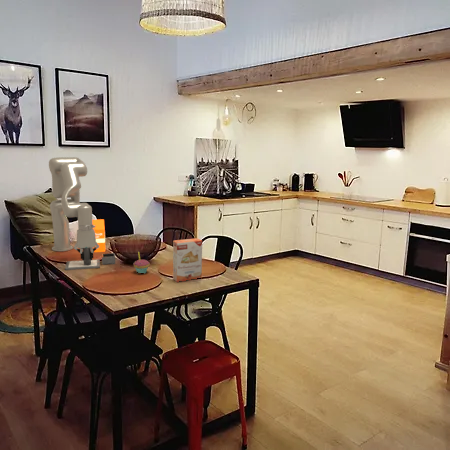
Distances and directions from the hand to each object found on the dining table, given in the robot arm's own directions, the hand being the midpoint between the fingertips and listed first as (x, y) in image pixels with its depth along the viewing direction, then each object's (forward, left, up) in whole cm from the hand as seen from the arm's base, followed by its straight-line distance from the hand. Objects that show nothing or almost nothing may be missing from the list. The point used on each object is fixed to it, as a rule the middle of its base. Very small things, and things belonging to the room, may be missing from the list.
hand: (87, 259), depth 243 cm
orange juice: (-33, +5, -4) cm, 33 cm away
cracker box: (+33, +50, -4) cm, 61 cm away
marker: (0, 0, -3) cm, 3 cm away
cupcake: (+17, +28, -4) cm, 34 cm away
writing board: (-3, -3, -4) cm, 5 cm away
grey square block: (-5, +11, -4) cm, 13 cm away
